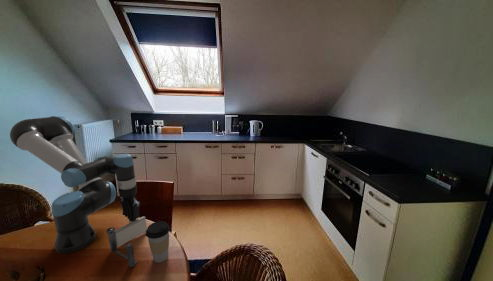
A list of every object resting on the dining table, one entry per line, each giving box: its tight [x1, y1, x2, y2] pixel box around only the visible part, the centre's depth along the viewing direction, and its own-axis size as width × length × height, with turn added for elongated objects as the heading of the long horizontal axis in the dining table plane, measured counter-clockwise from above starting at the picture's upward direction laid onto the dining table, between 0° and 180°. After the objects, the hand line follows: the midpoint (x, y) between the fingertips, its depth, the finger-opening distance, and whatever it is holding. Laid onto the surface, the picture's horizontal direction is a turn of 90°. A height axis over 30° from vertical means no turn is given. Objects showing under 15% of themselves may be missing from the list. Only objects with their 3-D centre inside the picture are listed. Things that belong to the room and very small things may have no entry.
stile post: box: [125, 242, 136, 268], centre depth 88 cm, size 2×2×10 cm
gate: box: [114, 216, 148, 248], centre depth 103 cm, size 14×1×8 cm, turn 145°
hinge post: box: [106, 226, 118, 253], centre depth 96 cm, size 3×3×11 cm
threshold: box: [114, 250, 138, 265], centre depth 93 cm, size 14×1×1 cm, turn 62°
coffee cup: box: [145, 220, 171, 264], centre depth 91 cm, size 9×9×15 cm
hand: (133, 230), depth 108 cm, fingers closed
